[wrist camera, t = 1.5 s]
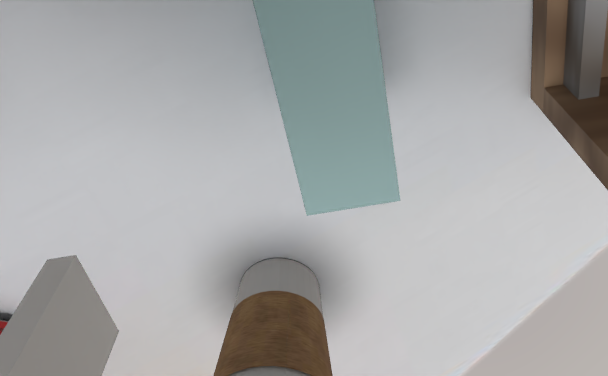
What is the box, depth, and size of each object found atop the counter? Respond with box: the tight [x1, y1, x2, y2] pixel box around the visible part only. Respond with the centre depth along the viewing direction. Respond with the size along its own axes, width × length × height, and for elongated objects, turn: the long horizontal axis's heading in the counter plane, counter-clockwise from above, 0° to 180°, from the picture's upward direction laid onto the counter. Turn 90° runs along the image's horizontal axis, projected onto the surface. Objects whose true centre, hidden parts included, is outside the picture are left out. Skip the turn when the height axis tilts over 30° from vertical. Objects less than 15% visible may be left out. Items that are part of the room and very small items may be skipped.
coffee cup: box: [214, 258, 332, 376], centre depth 34 cm, size 8×8×15 cm
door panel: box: [253, 0, 400, 216], centre depth 25 cm, size 10×4×11 cm, turn 12°
